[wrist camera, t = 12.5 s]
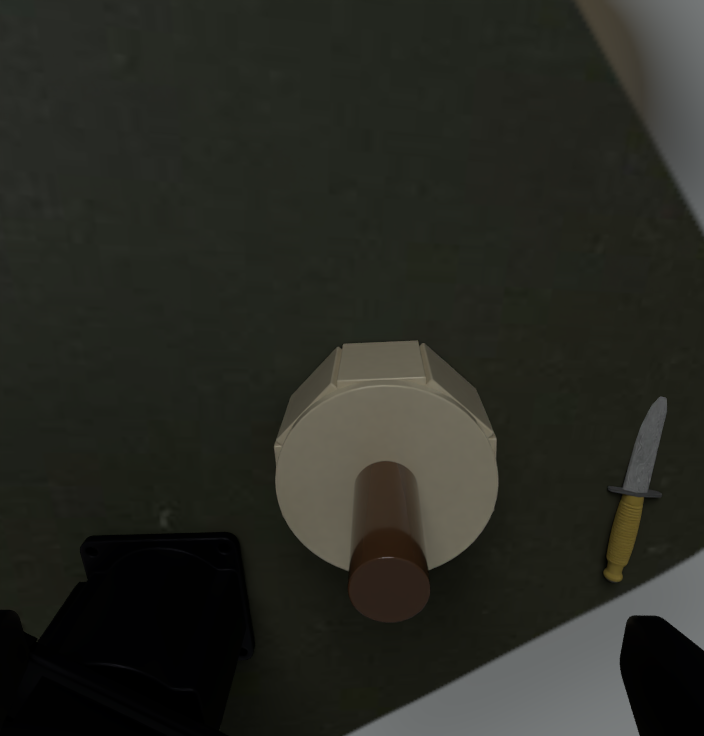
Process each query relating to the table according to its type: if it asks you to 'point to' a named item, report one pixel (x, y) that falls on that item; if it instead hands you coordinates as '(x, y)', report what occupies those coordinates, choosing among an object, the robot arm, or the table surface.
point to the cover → (386, 470)
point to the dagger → (634, 491)
